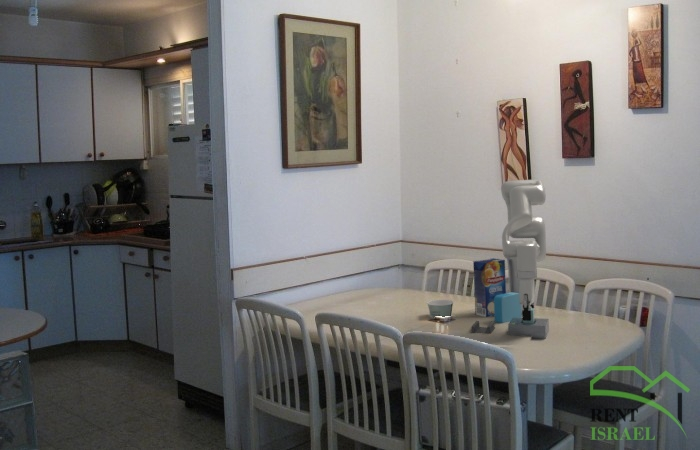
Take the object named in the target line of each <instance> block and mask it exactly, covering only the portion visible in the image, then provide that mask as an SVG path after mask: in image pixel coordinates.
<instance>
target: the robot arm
mask: <svg viewBox="0 0 700 450" xmlns="http://www.w3.org/2000/svg"><path fill="white" fill-rule="evenodd" d="M500 190H501V195H502V198H503V200H504V203H505V205H506V208H507V223H506V225H505V227H504V228H503V231H502V233H501V234H502V235H501V245H502V246H501V247H502V254H503V257H504V259H505V260H506V263H507V272H508V273H507V274H508V277H507V278H508V293H509V292H513V293H519V304H520V305H521V315H522V320H523V321H531V310H530V307H532V308H534V312H535V310H536V308H535V305H534V302H535V295H536V294H535V293H536V292H535V287H536V286H535V280H536V279H538V266H537V265H538V264H537V263H538V262H541V263H542V262H543V261H545V259H546V258H547V238H546V223H545V220H544V218H543V217H541V216H538V215H537V216H533V209H532V206H542V205H544V204H545V203H546V195H547V194H546V189H545V187H544V185H543V182H542V181H541V180H540V179H517V180H514V179H513V180H509V181H508V180H507V181H503V183H502V184H501V186H500ZM509 237H511V238H512V239H520V240H510V238H509ZM523 239H526V240H523ZM527 239H528V240H527ZM530 239H531V240H530ZM532 239H534V240H532Z"/></svg>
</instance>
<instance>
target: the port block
mask: <svg viewBox="0 0 700 450" xmlns="http://www.w3.org/2000/svg"><path fill="white" fill-rule="evenodd" d="M549 323H550V322H549V318H537V317H536V318H535V317H534V323H523V320H522V318H512V320H511V321H509V322H508V325H507V326H508V327H507V328H508V335H509V336H525V337H526V336H527V337H528V336H530V337H531V339H545V340H546V338H547V336H548V334H549V332H550V325H549Z"/></svg>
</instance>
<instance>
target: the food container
mask: <svg viewBox="0 0 700 450" xmlns="http://www.w3.org/2000/svg"><path fill="white" fill-rule="evenodd" d="M454 303H455V301H454V300H451V299H433V300H429V301H427V302H426V305H427V307H428V311H429V316H430V318H431V319H435V318H434V317H435V316H442V317H445V316H451V317H452V315H453V314H452V312H453V311H452V310H453V306H454V305H453V304H454Z"/></svg>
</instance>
